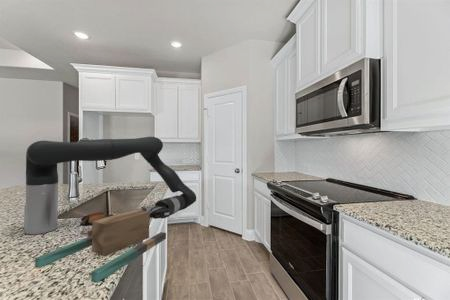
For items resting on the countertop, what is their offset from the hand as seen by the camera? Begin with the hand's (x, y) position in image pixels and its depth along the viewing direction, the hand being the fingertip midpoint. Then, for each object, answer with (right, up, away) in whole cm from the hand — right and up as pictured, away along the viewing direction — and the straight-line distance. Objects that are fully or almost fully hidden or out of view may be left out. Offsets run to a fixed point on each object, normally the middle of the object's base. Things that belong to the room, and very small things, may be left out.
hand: (140, 217), depth 79 cm
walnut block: (-3, -6, -8) cm, 10 cm away
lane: (-4, -6, -13) cm, 15 cm away
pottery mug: (-16, -6, +2) cm, 18 cm away
